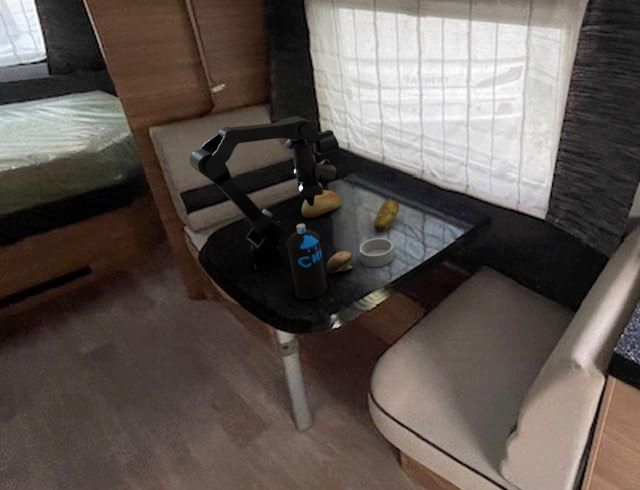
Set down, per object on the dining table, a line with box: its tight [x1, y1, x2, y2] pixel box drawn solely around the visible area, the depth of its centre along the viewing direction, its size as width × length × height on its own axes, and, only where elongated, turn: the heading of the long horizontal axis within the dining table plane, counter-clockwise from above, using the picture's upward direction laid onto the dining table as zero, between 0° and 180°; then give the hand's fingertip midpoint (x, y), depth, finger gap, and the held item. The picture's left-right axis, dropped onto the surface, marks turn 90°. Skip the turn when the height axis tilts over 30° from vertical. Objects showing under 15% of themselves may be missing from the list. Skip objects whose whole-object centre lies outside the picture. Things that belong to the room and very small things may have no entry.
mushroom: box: [326, 250, 354, 275], centre depth 120 cm, size 8×8×6 cm
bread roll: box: [301, 189, 342, 219], centre depth 152 cm, size 10×15×8 cm, turn 141°
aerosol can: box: [285, 223, 328, 300], centre depth 109 cm, size 8×8×20 cm
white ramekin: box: [358, 237, 395, 268], centre depth 127 cm, size 10×10×4 cm
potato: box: [373, 199, 400, 233], centre depth 144 cm, size 8×13×8 cm, turn 149°
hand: (311, 205), depth 130 cm, fingers closed
